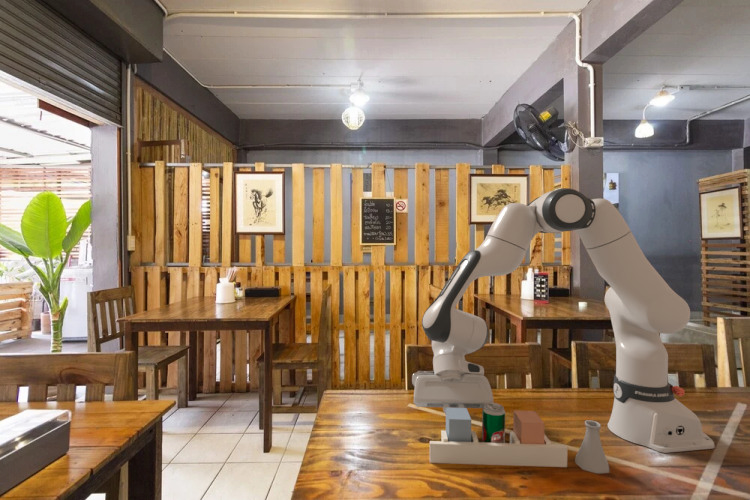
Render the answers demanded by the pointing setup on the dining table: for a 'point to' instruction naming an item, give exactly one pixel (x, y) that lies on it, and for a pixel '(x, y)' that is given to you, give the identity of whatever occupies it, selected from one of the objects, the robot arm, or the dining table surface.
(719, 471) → the dining table surface
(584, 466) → the flask
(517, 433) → the salmon pink brick
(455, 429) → the slate blue upright block
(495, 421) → the soda can
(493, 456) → the tray
